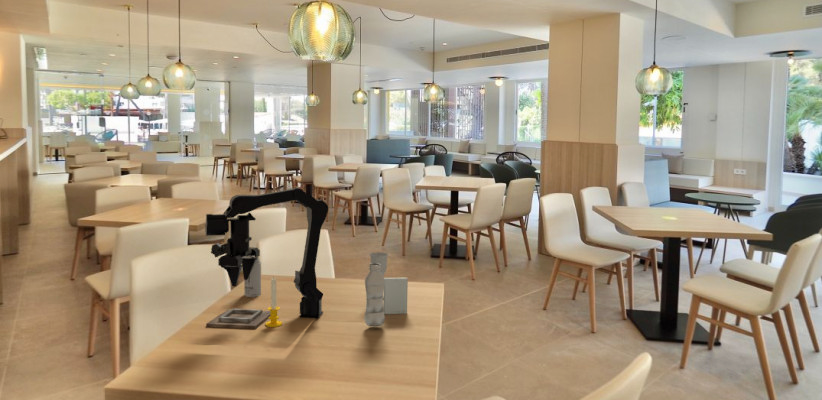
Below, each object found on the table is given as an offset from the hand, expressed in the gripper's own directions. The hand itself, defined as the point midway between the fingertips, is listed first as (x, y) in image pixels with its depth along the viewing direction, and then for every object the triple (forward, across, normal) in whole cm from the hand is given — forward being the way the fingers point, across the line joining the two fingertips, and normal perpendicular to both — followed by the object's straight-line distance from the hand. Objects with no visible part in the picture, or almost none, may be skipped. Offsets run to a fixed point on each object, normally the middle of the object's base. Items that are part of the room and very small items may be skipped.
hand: (240, 282), depth 174 cm
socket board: (+13, -3, -1) cm, 13 cm away
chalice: (+13, -32, +40) cm, 53 cm away
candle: (+13, 0, +11) cm, 17 cm away
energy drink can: (+13, -31, -8) cm, 34 cm away
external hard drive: (+13, -18, +48) cm, 53 cm away
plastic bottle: (+13, -3, +43) cm, 45 cm away
